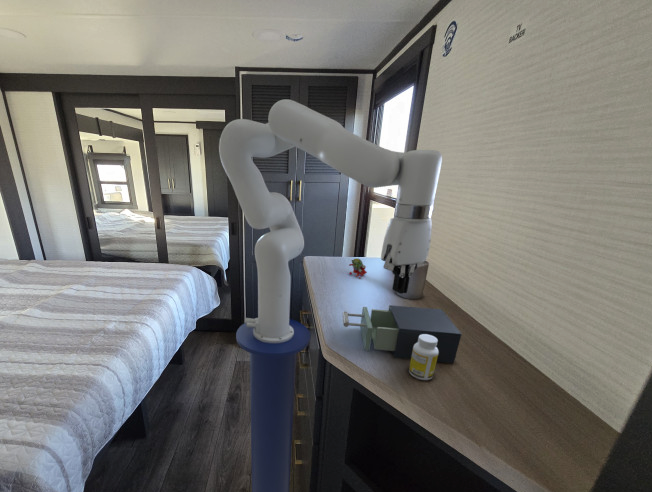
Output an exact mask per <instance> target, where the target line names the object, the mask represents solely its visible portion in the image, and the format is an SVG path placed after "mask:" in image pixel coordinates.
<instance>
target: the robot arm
mask: <svg viewBox="0 0 652 492" xmlns="http://www.w3.org/2000/svg"><path fill="white" fill-rule="evenodd" d="M267 117H268V118H267V120H268V122H266V123H262V122H259V121H255V120H252V119H246V118H238V119H234V120H232V121H229V122H228V123H227V124H226V126H225V127H224V128H223V130H222V131H221V132H222V133H221V135H220V137H219V143H218V149H219V150H218V152H219V158H220V162H221V165H222V167H223V170H224V171H225V174H226V176H227V177H228V180H229V182H230V183H231V185H232V189H233V191H234V193H235V196H236V198H237V201H238V204H239V206H240V208H241V211H242V213H243V215H244V218H245V221H246V222H247V224H248V225H249V226H250V227H251V228H252V229H255V230H264V229H269V230H270V231H269V232H266V233H264V234H263V235H261V236H260V237H259V238H258V240H257V241H256V243H255V245H254V258H255V262H256V269H257V317H255V318H252V317H251V318H250V317H244V323H245V324H247V327H253V328H254V329H253V335H254V337H255V338H256V339H258V340H260V341H262V342H265V343H282V342H286V341H288V340H290V339H291V338H292V337H293V335H294V330H293V328H292V327H291V326H290V325H289V319H290V313H291V312H290V311H291V287H292V286H291V285H292V284H291V283H292V281H291V280H292V279H291V271H290V267H289V262H290V261H292V260H293V259H295V258H297V257H299V256H300V255H301V254H302V252H303V250H304V248H305V237H304V234H303V232H302V229H301V226H300V224H299V221H298V219H297V217H296V213H295V211H294V209H293V206H292V204H291V201H289V200H288V198H287V197H286V196H285V195H283V194H282V193H280V192H275V191H274V192H273V191H271V192H270V191H269V189H268V186H267V185H266V182H265V180H264V177H263V175H262V173H261V171H260V169H259V168H258V167H257V165H256V164H255V162H254V161H253V159H252V158H261V159H267V158H271V157H274V156H277V155H279V154H281V153H284V152H286V151H288V150H290V149H293V148H297V149H299V150H301V151H303V152H305V153H307V154H309V155H310V156H312V157H314V158H316V159H317V160H319V161H321V162H322V163H323V164H326V165H327V166H329V167H331V169H334V170H335V171H337V172H338V173H340V174H342V175H344V176H346V177H348V178H350V179H352V180H353V181H355V182H357V183H359V184H362V186H366V187H368V188H374V189H377V188H383V187H385V188H386V187H392V186H398V187H397V192H396V200H395V205H394V211H393V212H394V214H393V217H392V218H390V220H389V222H388V224H387V227H386V231H385V234H384V237H383V238H384V239H383V243H382V248H381V253H380V255H381V256H380V259H381V261H383V262H384V263H383V270H387V271H391V273H392V275H394V276H393V282H392V291H394V292H395V293H396V292H398V293H400V294H403V293H407V290H408V285H409V279H410V277H411V276H412V275H413V272H414V270H415V269H416V268H418V267H420V266H423V264H424V261H427V259H428V257H429V253H430V249H431V248H430V247H431V241H432V240H431V239H432V227H433V226H432V225H433V223H432V222H433V221H432V215H433V212H434V211H435V210H434V205H435V204H434V203H435V199H436V193H437V189H438V183H439V179H440V173H441V168H442V163H443V155H442V153H441V152H440V151H439V150H434V149H414V150H409V151H407V152H402V151H395V150H390V149H387V148H385V147H382V146H380V145H377V144H375V143H374V142H371V141H369V140H367V139H365V138H363V137H361V136H359V135H358V134H355V133H353V132H352V131H350V130H348V129H346V128H345V127H344V126H343V125H342V123H340V122H338V121H337V120H336V119H332V118H331V117H328V116H326V115H324V114H323V113H320V112H318V111H315V110H314V109H312V108H309V107H308V106H306V105H304V104H301V103H300V102H298V101H295V100H292V99H289V98H287V99H286V98H285V99H281V100H278V101H277V102H275V103H274V104H273V105H272V106H271V108H270V110H269V112H268V116H267Z"/></svg>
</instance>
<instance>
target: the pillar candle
mask: <svg viewBox="0 0 652 492" xmlns="http://www.w3.org/2000/svg"><path fill="white" fill-rule="evenodd" d="M429 266H430V262H429V261H427V260H425V261H424V264H423V266H420V267H418V268H416V269H415V270H414V272H413V275H412V276H411V277H410V279H409V285H408V290H407V293H403V294H400V293H398V292H396V291H395V293H396V295H397V296H399V297H401V298H403V299H407V300H419V299H422V298H423V294H424V290H425V286H426V280H427V277H428V276H427V275H428V271H429Z"/></svg>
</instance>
